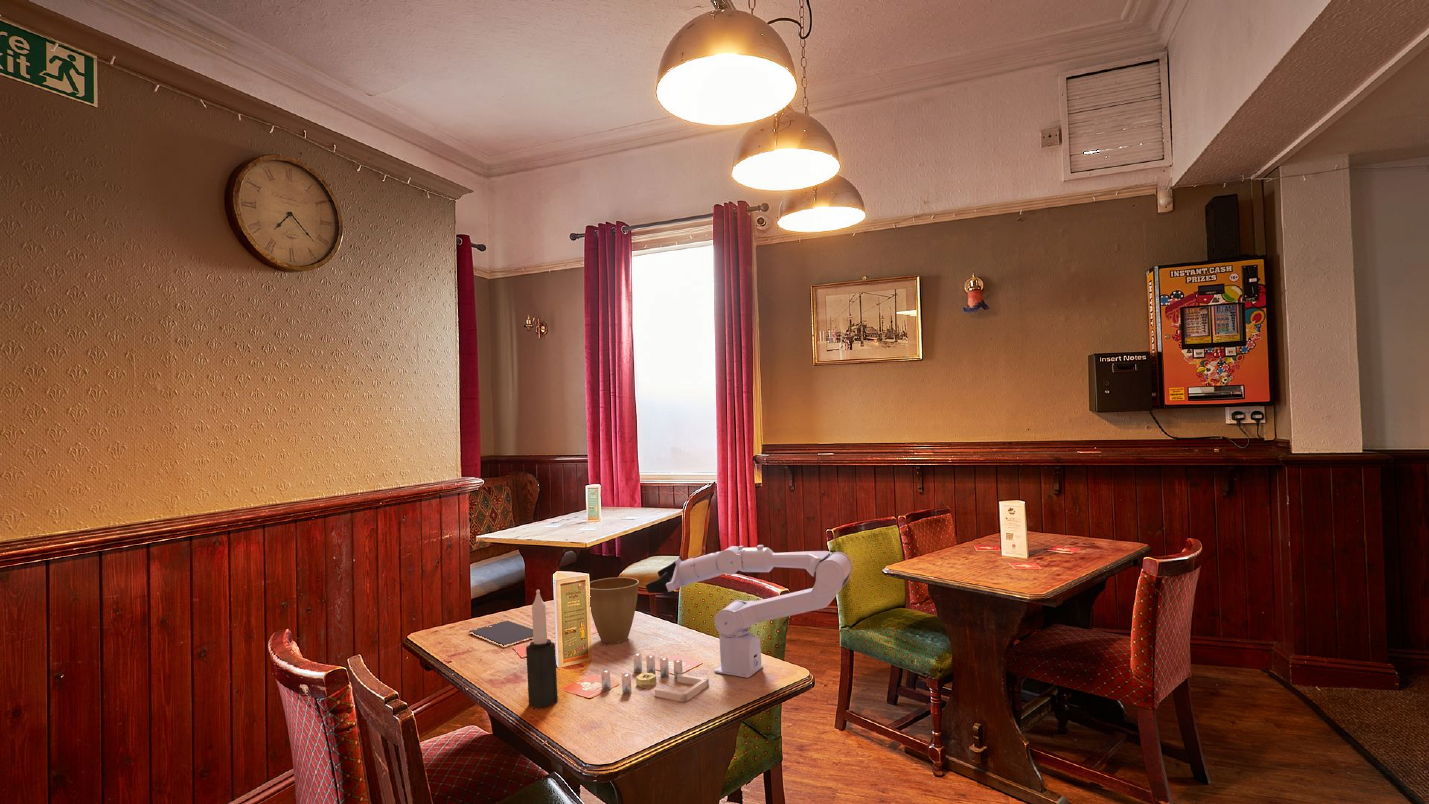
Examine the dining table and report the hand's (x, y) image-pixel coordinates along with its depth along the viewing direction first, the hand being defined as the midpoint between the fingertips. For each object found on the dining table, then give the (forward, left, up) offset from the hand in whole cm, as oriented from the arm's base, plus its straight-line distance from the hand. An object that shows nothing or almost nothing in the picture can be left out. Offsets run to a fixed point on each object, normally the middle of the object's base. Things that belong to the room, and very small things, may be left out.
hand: (653, 582), depth 176 cm
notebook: (+56, -1, -21) cm, 60 cm away
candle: (+9, +31, -20) cm, 38 cm away
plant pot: (+22, -10, -20) cm, 31 cm away
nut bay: (-16, +13, -20) cm, 29 cm away
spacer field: (-5, +13, -20) cm, 25 cm away
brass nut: (-6, +13, -20) cm, 25 cm away
